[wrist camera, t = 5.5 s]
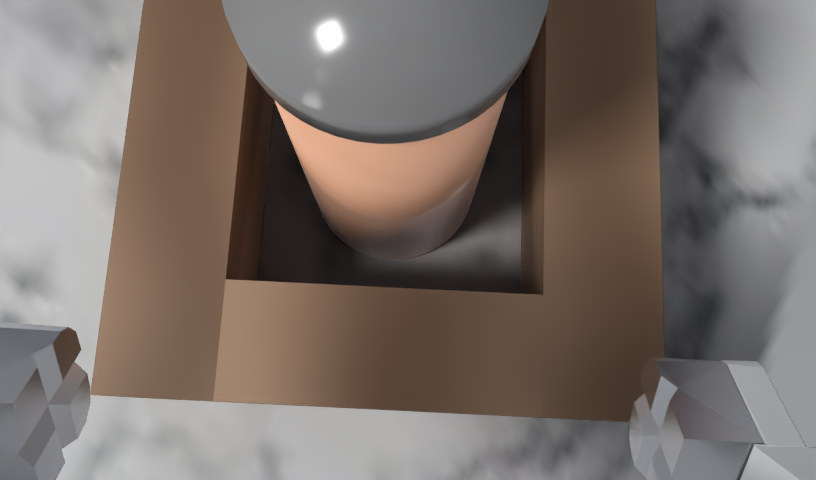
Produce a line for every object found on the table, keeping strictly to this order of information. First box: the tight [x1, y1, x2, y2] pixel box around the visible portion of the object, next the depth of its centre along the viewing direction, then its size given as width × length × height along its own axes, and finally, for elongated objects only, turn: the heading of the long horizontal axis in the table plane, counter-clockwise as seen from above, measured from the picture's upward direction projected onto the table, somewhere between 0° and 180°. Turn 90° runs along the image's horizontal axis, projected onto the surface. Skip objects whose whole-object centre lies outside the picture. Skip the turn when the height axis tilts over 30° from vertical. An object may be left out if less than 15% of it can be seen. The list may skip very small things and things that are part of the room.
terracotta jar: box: [222, 0, 549, 260], centre depth 18 cm, size 5×5×12 cm
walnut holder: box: [90, 0, 664, 422], centre depth 22 cm, size 14×14×4 cm
